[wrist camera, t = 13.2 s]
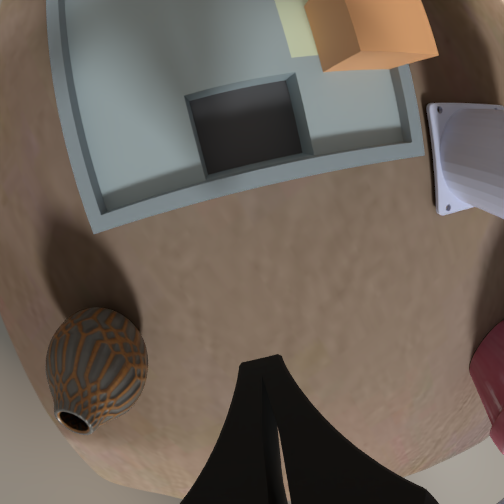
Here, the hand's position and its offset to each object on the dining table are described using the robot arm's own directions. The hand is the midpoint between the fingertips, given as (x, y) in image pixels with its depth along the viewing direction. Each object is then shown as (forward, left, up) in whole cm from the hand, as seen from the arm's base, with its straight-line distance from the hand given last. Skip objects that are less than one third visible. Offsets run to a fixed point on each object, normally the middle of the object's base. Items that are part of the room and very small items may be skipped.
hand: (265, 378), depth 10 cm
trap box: (-2, -15, -10) cm, 18 cm away
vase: (+11, +3, -10) cm, 15 cm away
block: (-8, -12, -7) cm, 16 cm away
